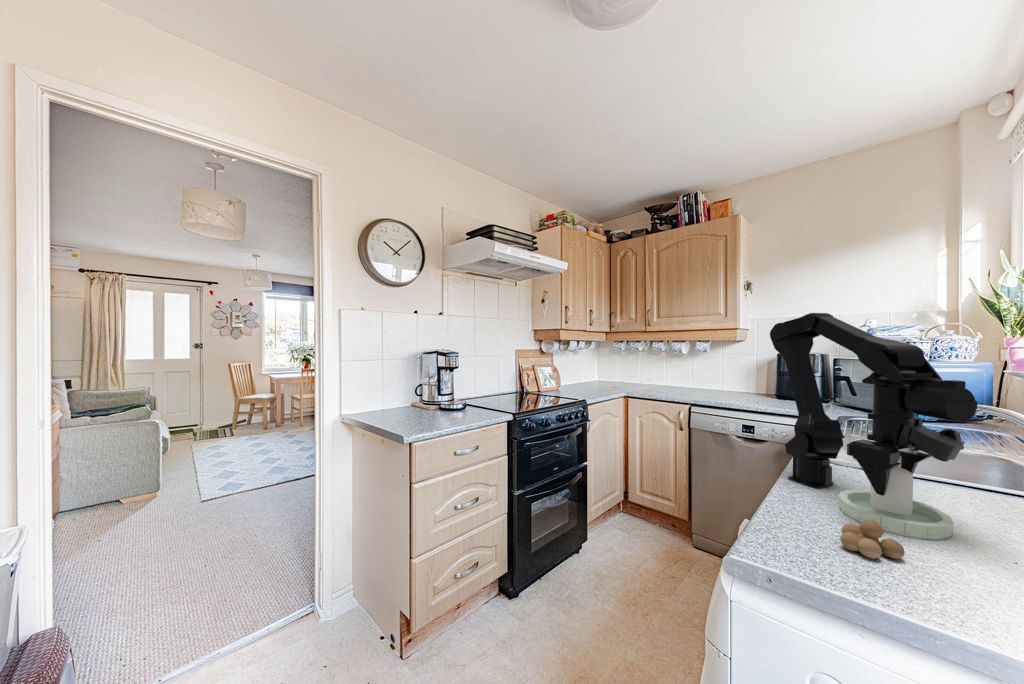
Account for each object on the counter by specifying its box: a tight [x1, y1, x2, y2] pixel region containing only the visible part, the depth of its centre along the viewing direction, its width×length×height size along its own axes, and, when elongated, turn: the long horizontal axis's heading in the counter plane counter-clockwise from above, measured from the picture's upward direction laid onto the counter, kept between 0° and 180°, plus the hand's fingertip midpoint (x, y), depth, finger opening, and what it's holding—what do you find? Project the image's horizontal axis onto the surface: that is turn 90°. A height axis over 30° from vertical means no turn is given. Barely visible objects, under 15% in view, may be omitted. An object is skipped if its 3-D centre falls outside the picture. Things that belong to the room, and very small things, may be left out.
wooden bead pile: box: [839, 520, 905, 560], centre depth 61 cm, size 8×6×5 cm
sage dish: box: [838, 489, 954, 541], centre depth 71 cm, size 15×15×2 cm
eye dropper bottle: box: [870, 456, 914, 515], centre depth 71 cm, size 4×6×12 cm
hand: (891, 491), depth 72 cm, fingers closed on eye dropper bottle, 8 cm apart
